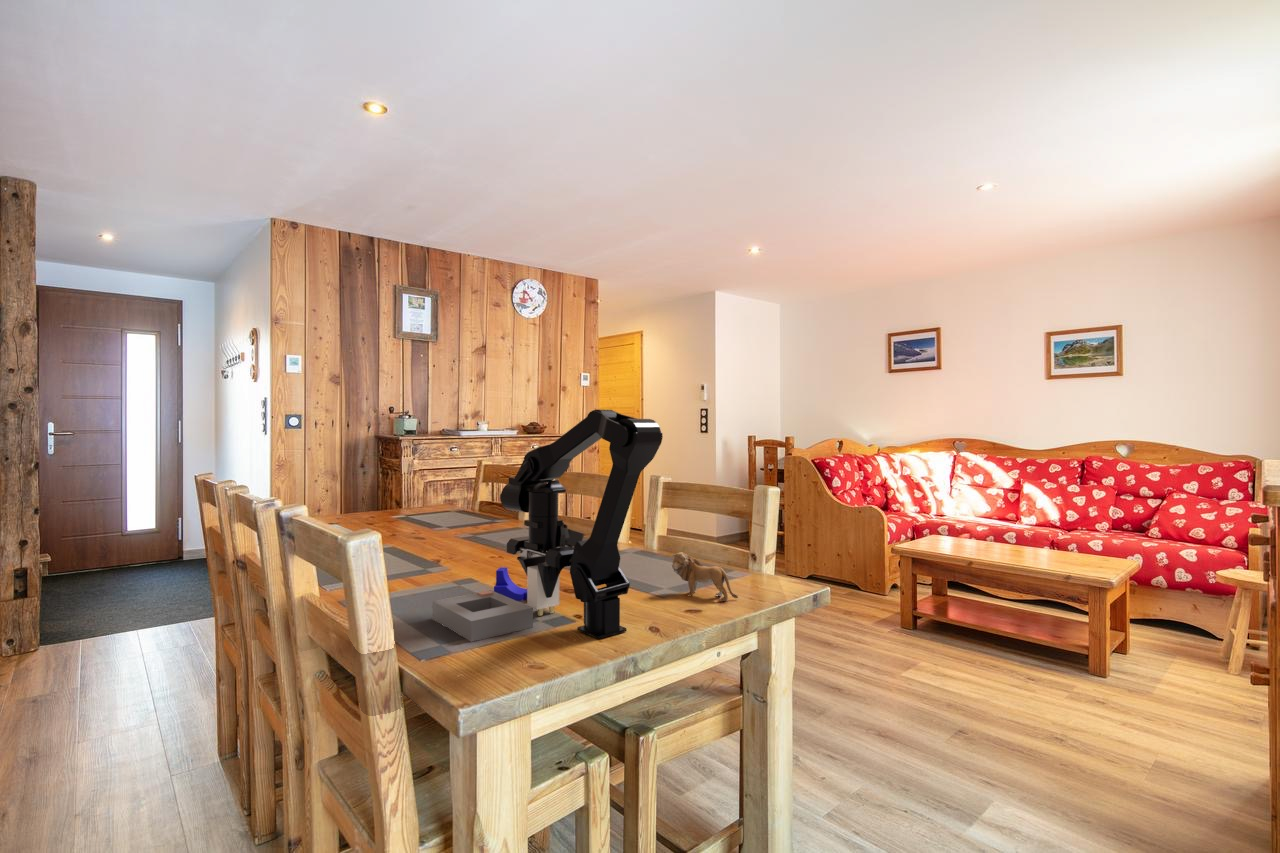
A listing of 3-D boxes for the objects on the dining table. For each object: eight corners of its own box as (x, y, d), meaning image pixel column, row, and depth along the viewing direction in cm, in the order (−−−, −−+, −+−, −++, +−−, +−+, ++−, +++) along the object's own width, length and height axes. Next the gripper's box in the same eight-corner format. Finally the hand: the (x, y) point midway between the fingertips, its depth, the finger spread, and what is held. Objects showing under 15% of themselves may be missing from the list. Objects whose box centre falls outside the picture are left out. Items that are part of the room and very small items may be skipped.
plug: (559, 612, 123) (559, 566, 123) (537, 617, 120) (537, 570, 120) (549, 608, 126) (549, 563, 126) (527, 613, 123) (527, 566, 123)
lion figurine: (668, 595, 136) (668, 553, 136) (676, 589, 141) (676, 549, 141) (735, 603, 130) (735, 559, 130) (741, 597, 135) (741, 555, 135)
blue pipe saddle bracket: (493, 601, 132) (493, 572, 132) (500, 595, 137) (500, 567, 137) (550, 602, 131) (550, 573, 131) (555, 596, 136) (555, 568, 136)
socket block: (532, 627, 115) (533, 606, 115) (471, 641, 107) (471, 619, 107) (490, 607, 127) (490, 588, 127) (432, 619, 119) (432, 599, 119)
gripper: (605, 516, 121) (605, 597, 121) (551, 506, 135) (551, 579, 135) (557, 522, 114) (556, 609, 114) (505, 511, 128) (505, 588, 128)
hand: (543, 595), depth 123 cm, fingers closed on plug, 4 cm apart
